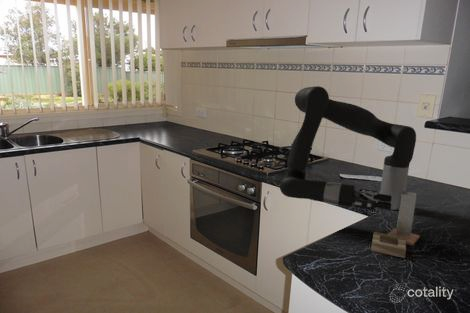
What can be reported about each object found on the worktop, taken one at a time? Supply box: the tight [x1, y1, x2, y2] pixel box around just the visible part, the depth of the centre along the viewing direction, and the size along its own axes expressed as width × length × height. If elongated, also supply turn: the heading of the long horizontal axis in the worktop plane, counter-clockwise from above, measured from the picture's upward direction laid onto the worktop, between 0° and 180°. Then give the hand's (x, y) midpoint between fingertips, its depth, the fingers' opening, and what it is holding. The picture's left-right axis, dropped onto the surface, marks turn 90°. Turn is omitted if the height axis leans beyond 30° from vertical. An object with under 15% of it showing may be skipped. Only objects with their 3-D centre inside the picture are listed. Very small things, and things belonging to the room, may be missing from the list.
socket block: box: [370, 231, 407, 259], centre depth 106 cm, size 9×9×2 cm
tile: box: [387, 228, 420, 246], centre depth 114 cm, size 8×8×1 cm
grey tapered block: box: [396, 191, 417, 239], centre depth 112 cm, size 4×4×14 cm
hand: (391, 202), depth 114 cm, fingers open, 8 cm apart
